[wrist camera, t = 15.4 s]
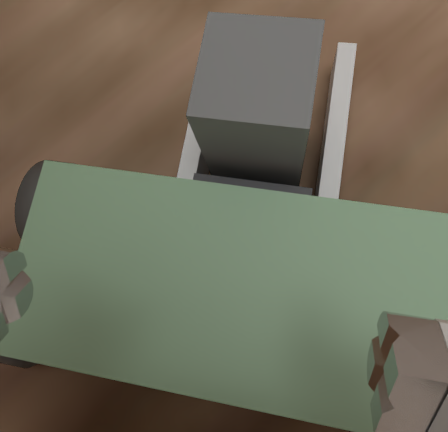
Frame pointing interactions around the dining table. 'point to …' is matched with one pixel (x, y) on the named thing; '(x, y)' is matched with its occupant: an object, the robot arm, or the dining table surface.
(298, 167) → the grey upright pillar
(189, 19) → the dining table surface
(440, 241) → the mower deck
